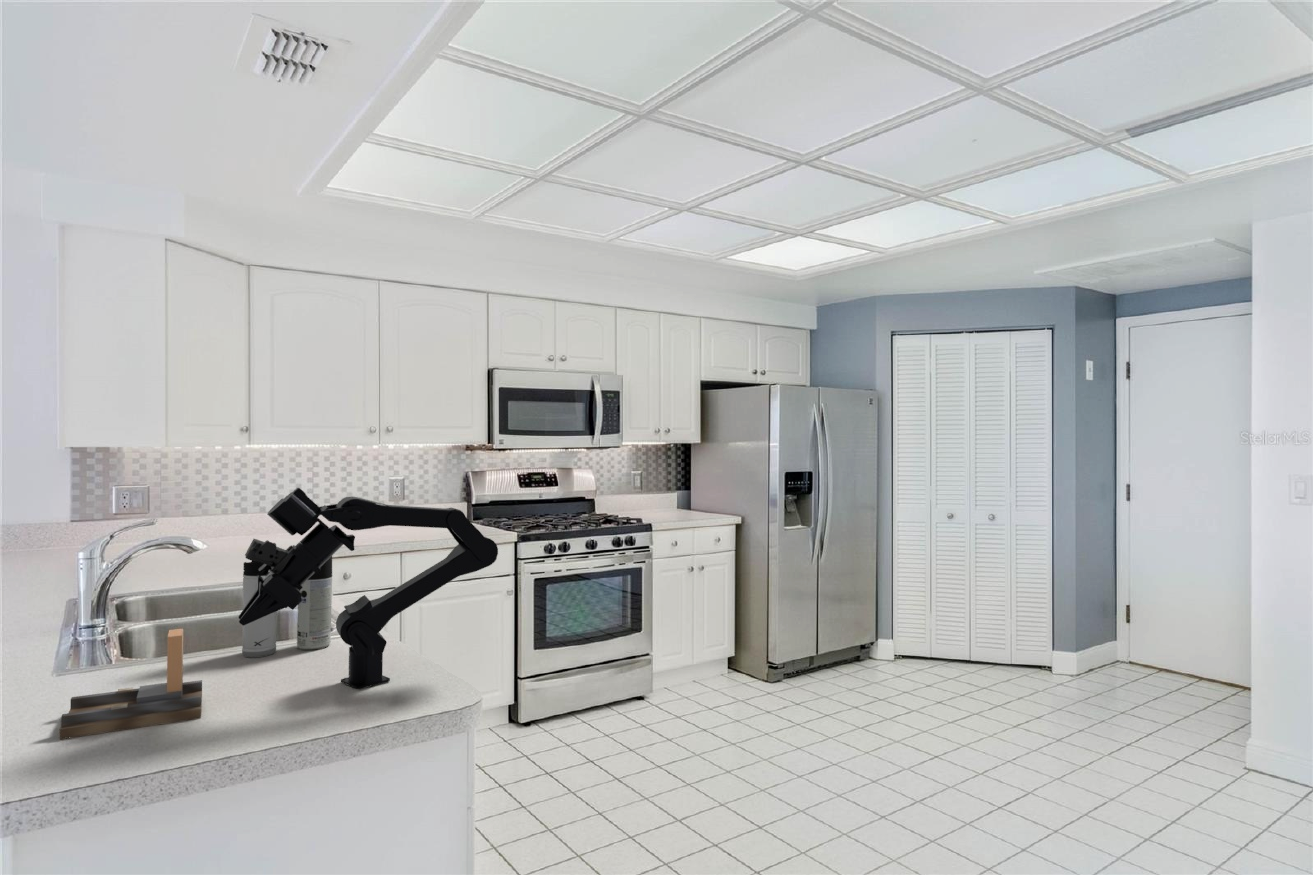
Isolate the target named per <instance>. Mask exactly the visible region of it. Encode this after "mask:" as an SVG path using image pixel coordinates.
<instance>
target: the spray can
mask: <svg viewBox="0 0 1313 875" xmlns="http://www.w3.org/2000/svg"><path fill="white" fill-rule="evenodd" d="M320 569H321V570H320V571H319V572H318V573H317V574H316V573H314V574H313V575H312V576H311V577H310V578H309V579H308V580H307V581H306V582H305V583H304V584H303V585H302V587H303V588H302V589H301V590H300V592H301V594H302V596H301V602H300V603H299V604H298V605H297V617H296V618H297V622H296V623H297V626H296V630H297V631H296V632H297V633H296V646H297V649H298V650H301V651H317V650H322V649H326V648H328V647H329V646H330V645H331V640H332V639H331V638H332V637H331V636H332V635H331V634H332V603H333V602H332V599H333V596H332V595H333V555H332V556H331V557H330V558H329V559H328V560H327V561H326V562H325V563H324V564H323V565H322V566H321V567H320ZM327 646H328V647H327ZM325 647H326V648H325Z"/></svg>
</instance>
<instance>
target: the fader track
mask: <svg viewBox="0 0 1313 875" xmlns="http://www.w3.org/2000/svg"><path fill="white" fill-rule="evenodd" d="M139 688H140V687H138V688H134V687H125V688H118V689H117V690H116V691H109V692H101V693H93V694H84V695H78V696H72V697H71V698H70V704H69V705H70V706H69V707H70V709H69V711H68V713H63V714H62V715H61V717H60V719H61V720H60V722H61V723H60V728H59V740H64V739H63V738H66V739H70V738H69V737H73V738H77V737H78V738H79V737H84V736H90V735H97V734H105V733H111V732H116V731H117V732H118V731H123V730H124V731H125V730H132V729H137V728H144V727H150V726H158V725H163V724H169V723H176V722H177V723H178V722H182V721H183V722H184V721H191V720H198V719H202V704H203V702H202V701H203V680H202V679H201V680H199V679H198V680H194V681H193V680H192V681H186V682H185V681H183V694H182V698H175V699H168V700H160V701H153V702H146V703H139V704H136V699H137V695H138V691H139Z"/></svg>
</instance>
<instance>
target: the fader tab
mask: <svg viewBox="0 0 1313 875" xmlns="http://www.w3.org/2000/svg"><path fill="white" fill-rule="evenodd" d="M166 643H167V648H166V649H167V651H166V652H167V654H166V656H167V658H166V665H167V666H166V667H167V668H166V682H163V683H155V684H145V685H140V686H139V687H138V688H139V691H138V695H137V699H136V704H139V703H146V702H153V701H160V700H168V699H175V698H182V694H183V683H184V679H183V677H184V672H183V670H184V669H183V668H184V628H177V629H175V628H174V629H169V630H168V634H167V642H166Z"/></svg>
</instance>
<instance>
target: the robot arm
mask: <svg viewBox="0 0 1313 875" xmlns="http://www.w3.org/2000/svg"><path fill="white" fill-rule="evenodd" d="M267 515H268V517H270V518H271V519H272V520H273V521H274V522H276V523H277V524H278V526H280V527H281V528H282V529H284V530H285V531H286V532H287V533H288V534H289V535H290V536H294V535H296V534H297V535H300V536H303V535H305V534H306V533H307V532H308V533H307V534H306V535H305V536H304V537H303V538H302V539H301V540H300V541H299V542H297V543H296V545H295V544H293V545H289V546H288V547H287V548H286V549H284V548H282V547H278V546H277V543H275V542H271V541H269V539H268V540H265V541H262V540H259V539H257V538H253V539H252V540H251V542H250V544H249V546H248V548H247V550H246V552H245V554H244V556H245V559H246V560H248V561H250V562H252V561H258V562H261V563H264V564H263V565H262V566H261V567H260V568H259V572H261V573H264V574H265V576H264V577H261V576H259V575H258V577H257V578H258V588H257V590H256V591H255V593H254V594H253V596H252V597H251V599H250V600H249V602H248V603H247V605H246V606H245V608H244V609H243V608H242V611H241V612H240V614H239V615H238V619H239V620H238V623H239V624H240V625H241V626H243V625H246V624H249V623H251V622H253V621H255V620H258V619H260V618H262V617H264V616H267V615H269V614H271V613H274V612H276V611H277V612H278V611H281V610H284V609H286V608H289V609H291V610H292V611H294V609H296V607H298V604H299V603H300V602H301V596H302V594H301V592H300V590H301V589H302V588H303V587H302V585H303V584H304V583H305V582H306V581H307V580H308V579H309V578H310V577H311V576H312V575H313V574H314V573H316V574H317V573H318V572H319V571H320V570H321V569H320V567H321V566H322V565H323V564H324V563H325V562H326V561H327V560H328V559H329V558H330V557H331V556H332V557H333V556H334V554H335V553H337V552H338V550H340V549H341V548H342V546H344V547H346V548H347V549H348V550H349V551H351V552H354V551H355V538H356V536H355V535H354V534H346V532H344V531H343V530H342V529H341V528H340V527H339V526H338V525H336V524H335V525H332V526H331V527H329V526H328V525H327V524H326V523H325V522H323V521H322V520H321V519H320V518H319V517H320V516H322V517H323V518H324V519H326V520H327V521H328V522H330V523H331V522H332V523H338V524H340V526H342V527H343V528H344V529H346V530H348V531H349V530H350V531H362V530H363V531H364V530H371V529H376V528H381V527H388V526H389V527H390V526H392V527H393V526H394V527H413V528H414V527H415V528H433V529H434V528H436V529H447V530H448V532H449V533H450V534H451V536H452V537H453V538H454V540H455V541H456V543H457V545H456V546H454V548H453V549H452V550H451V551H450V552H449V554H447V556H446V557H445V558H443V559H441V560H440V561H438V562H437V563H435V564H433V565H432V566H430V567H429V568H427V569H426V570H423V571H422V572H420V573H418V574H417V575H416V576H413V577H412V578H411V579H409V580H407V581H405V582H404V583H402V584H400V585H398V587H395V588H394V589H392V590H390V591H389V592H387V593H385V594H383V596H381V597H378V598H375V599H371V600H370V599H369V598H368V597H367V596H366V595H362V596H360V597H359V598H358V599H357V600H355V601H354V602H353V603H350V604H347V605H344V606H343V607H344V610H343V611H341V612H340V613H339V615H337V619H336V622H335V628H336V632H337V633H338V635H339V637H340V638H341V640H342V641H343V642H344V644H346V645H348V646H350V647H348V677H344V678H341V679H340V683H342V684H345V685H346V686H348V687H351V688H354V689H356V690H362V689H365V688H369V687H373V686H376V685H380V684H383V683H384V684H385V683H389V682H390V681H391V679H390V677H388V676H386V675H384V674H383V662H384V661H383V659H384V658H383V654H384V651H385V648H386V645H387V640H386V639H385V638H384V636H383V635H382V634H381V633H380V632H381V631H382V630H383V629H384V627H385V626H387V624H388V623H389V622H390V620H391V619H393V618H394V617H395V616H397V615H398V614H399V613H401V612H403V611H404V610H406V609H408V608H410V607H411V606H413V605H415V604H416V603H419V601H421V600H422V599H424V598H425V597H427V596H429V595H431V594H432V593H434V592H435V591H437V590H438V589H441V588H442V587H443V586H445V585H447V584H448V583H450V582H452V581H453V580H455V579H456V578H458V577H460V576H465V575H469V574H472V573H475V572H478V571H480V570H483V569H486V568H488V567H490V566H491V565H493V564H494V563H495V562H496V561H497V558H498V555H499V548H498V545H497V543H496V542H495V540H493V539H491V538H489V537H486V536H484V535H483V534H482V532H481V531H480V530H479V529H478V528H477V527H476V526H475V525H474V524H473V523H472V522H471V521H470V520H469V519H468V518H467V516H466V514H465V513H464V512H463V511H462V510H461V509H457V508H454V507H447V508H446V507H445V508H444V507H443V508H442V507H426V506H409V505H393V504H392V505H390V504H386V503H381V502H377V501H373V500H369V499H365V498H361V497H357V496H345V497H343V498H342V499H341V500H339V501H338V502H337V503H335V504H329V505H328V504H327V505H325V504H324V505H321V506H318V504H317V503H315V502H314V501H313V500H312V499H310V497H309V496H308V495H307V494H306V492H305V491H304V490H302V488H300V487H296V488H295V489H294V490H293V491H292V492H290V493H288V494H287V495H286V496H285V497H283V498H281V499H280V500H278V502H276V504H274V505H273V506H272V507H271V509H269V510H268V512H267ZM317 523H318V524H317ZM315 524H317V525H316V526H315ZM314 526H315V527H314ZM313 527H314V528H313ZM311 528H313V529H311ZM309 530H310V531H309Z"/></svg>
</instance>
